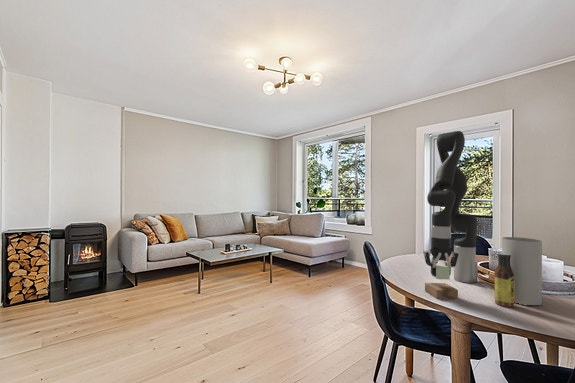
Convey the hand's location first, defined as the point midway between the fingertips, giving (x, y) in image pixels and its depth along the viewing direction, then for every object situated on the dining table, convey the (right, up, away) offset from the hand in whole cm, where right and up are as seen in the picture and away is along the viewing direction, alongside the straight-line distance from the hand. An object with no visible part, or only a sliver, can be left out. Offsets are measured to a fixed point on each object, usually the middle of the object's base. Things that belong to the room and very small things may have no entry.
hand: (440, 275), depth 120 cm
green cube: (0, -1, 0) cm, 1 cm away
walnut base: (0, -8, 0) cm, 8 cm away
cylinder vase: (+30, -9, -6) cm, 32 cm away
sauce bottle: (+20, -8, -10) cm, 24 cm away
